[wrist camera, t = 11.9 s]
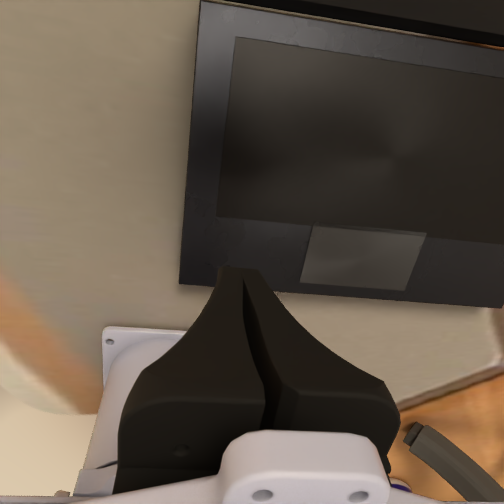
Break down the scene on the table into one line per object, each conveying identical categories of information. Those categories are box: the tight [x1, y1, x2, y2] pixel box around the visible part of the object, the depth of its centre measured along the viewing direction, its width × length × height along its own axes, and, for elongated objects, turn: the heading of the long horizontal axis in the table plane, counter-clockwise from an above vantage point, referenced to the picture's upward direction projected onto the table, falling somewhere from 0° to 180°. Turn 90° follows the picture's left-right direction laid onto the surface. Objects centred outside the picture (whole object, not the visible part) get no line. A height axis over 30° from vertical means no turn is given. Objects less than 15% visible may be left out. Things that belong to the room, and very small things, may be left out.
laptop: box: [179, 0, 504, 308], centre depth 23 cm, size 14×20×2 cm
